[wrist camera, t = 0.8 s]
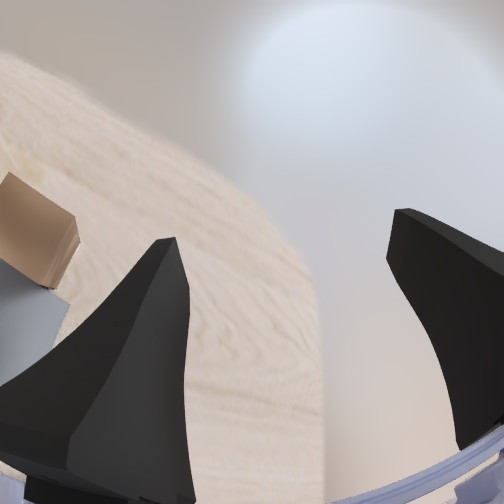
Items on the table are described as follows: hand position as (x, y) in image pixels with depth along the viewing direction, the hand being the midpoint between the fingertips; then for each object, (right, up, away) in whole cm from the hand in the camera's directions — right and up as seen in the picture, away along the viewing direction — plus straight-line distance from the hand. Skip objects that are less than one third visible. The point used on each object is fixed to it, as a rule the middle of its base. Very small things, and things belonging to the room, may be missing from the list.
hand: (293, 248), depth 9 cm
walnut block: (-17, 0, +9) cm, 19 cm away
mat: (-20, -6, +7) cm, 22 cm away
